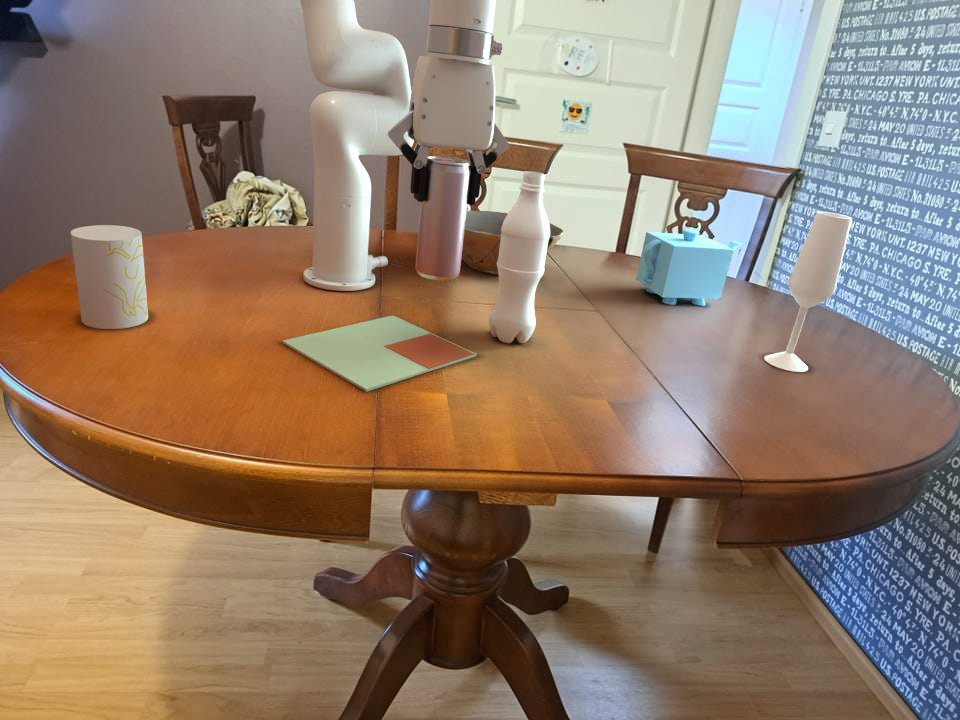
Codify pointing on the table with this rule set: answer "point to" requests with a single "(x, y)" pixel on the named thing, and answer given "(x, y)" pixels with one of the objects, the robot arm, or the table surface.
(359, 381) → the placemat
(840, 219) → the champagne flute
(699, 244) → the teapot
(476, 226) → the bowl
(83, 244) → the cup
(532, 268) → the water bottle
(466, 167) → the beverage can
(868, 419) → the table surface
